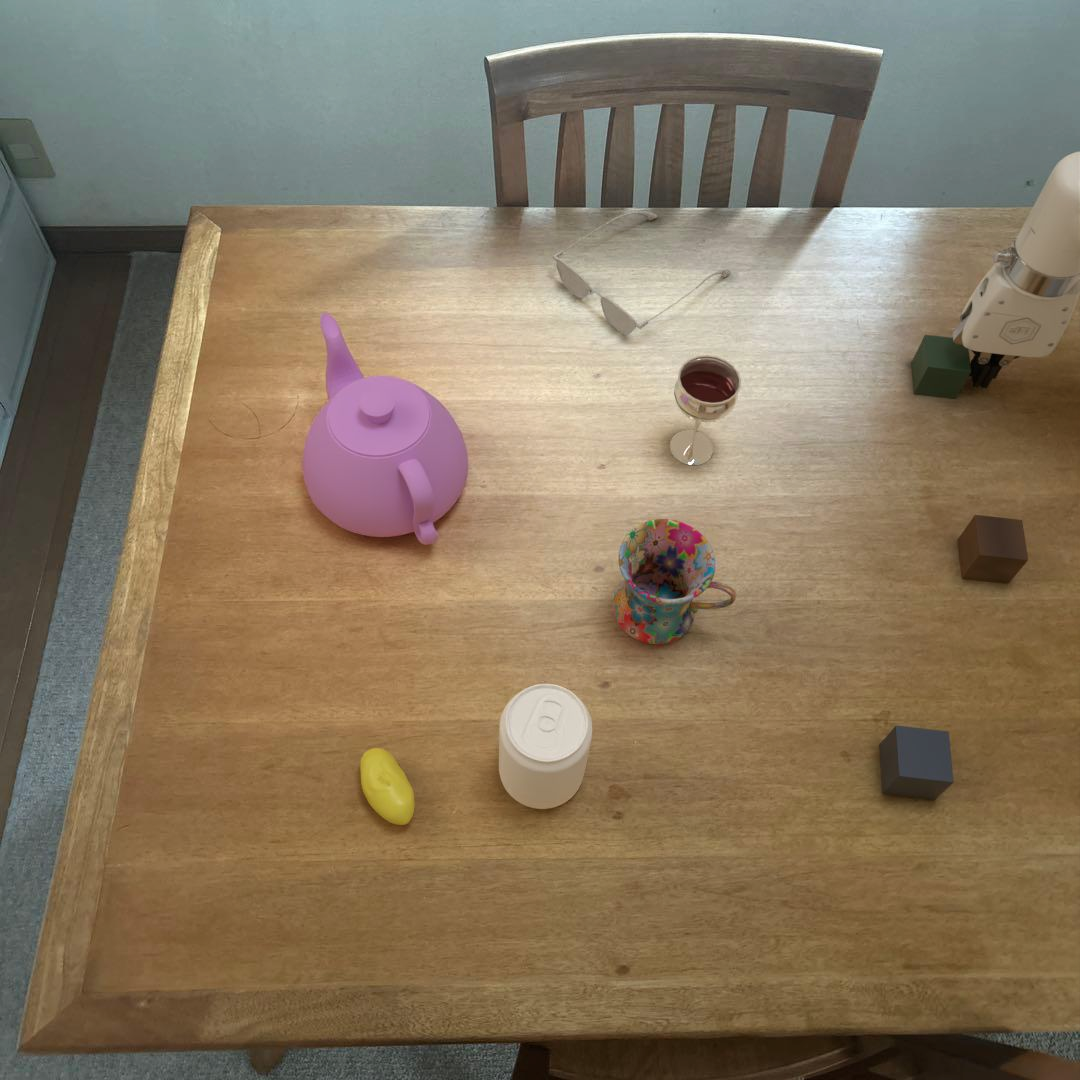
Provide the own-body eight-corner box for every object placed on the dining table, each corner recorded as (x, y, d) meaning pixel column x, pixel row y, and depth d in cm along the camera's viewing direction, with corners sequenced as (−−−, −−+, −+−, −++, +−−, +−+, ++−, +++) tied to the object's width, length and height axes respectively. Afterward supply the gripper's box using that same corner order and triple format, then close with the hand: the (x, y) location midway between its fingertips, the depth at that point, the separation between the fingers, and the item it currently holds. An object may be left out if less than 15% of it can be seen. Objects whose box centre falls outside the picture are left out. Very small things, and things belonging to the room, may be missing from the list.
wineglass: (688, 481, 121) (706, 415, 111) (649, 441, 124) (664, 372, 113) (733, 453, 123) (755, 386, 113) (694, 414, 126) (712, 345, 116)
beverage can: (487, 796, 101) (486, 750, 91) (513, 719, 105) (516, 667, 95) (570, 822, 100) (579, 779, 90) (593, 743, 104) (604, 693, 94)
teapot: (508, 522, 117) (510, 447, 106) (359, 592, 112) (344, 521, 100) (405, 366, 128) (396, 282, 116) (264, 423, 123) (241, 341, 111)
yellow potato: (393, 747, 103) (389, 732, 100) (425, 821, 100) (423, 808, 96) (351, 764, 102) (346, 750, 99) (382, 841, 99) (379, 828, 95)
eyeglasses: (549, 276, 137) (551, 252, 133) (650, 212, 143) (654, 188, 140) (635, 347, 131) (639, 324, 128) (735, 277, 138) (742, 254, 134)
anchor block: (930, 750, 105) (949, 731, 101) (934, 800, 103) (954, 782, 99) (879, 744, 106) (895, 725, 101) (882, 794, 103) (899, 776, 99)
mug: (595, 633, 111) (605, 582, 102) (624, 560, 115) (636, 506, 106) (708, 673, 109) (728, 625, 100) (732, 598, 113) (754, 545, 104)
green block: (952, 367, 131) (967, 339, 127) (955, 399, 129) (971, 371, 125) (910, 362, 132) (925, 334, 127) (913, 394, 129) (928, 366, 125)
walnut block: (1003, 544, 118) (1022, 519, 114) (1008, 583, 116) (1028, 560, 111) (957, 539, 118) (974, 514, 114) (961, 578, 116) (979, 554, 112)
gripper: (975, 283, 112) (917, 396, 127) (1121, 298, 111) (1045, 410, 127) (968, 232, 116) (913, 348, 131) (1109, 247, 115) (1037, 362, 131)
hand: (978, 378), depth 129 cm, fingers closed
